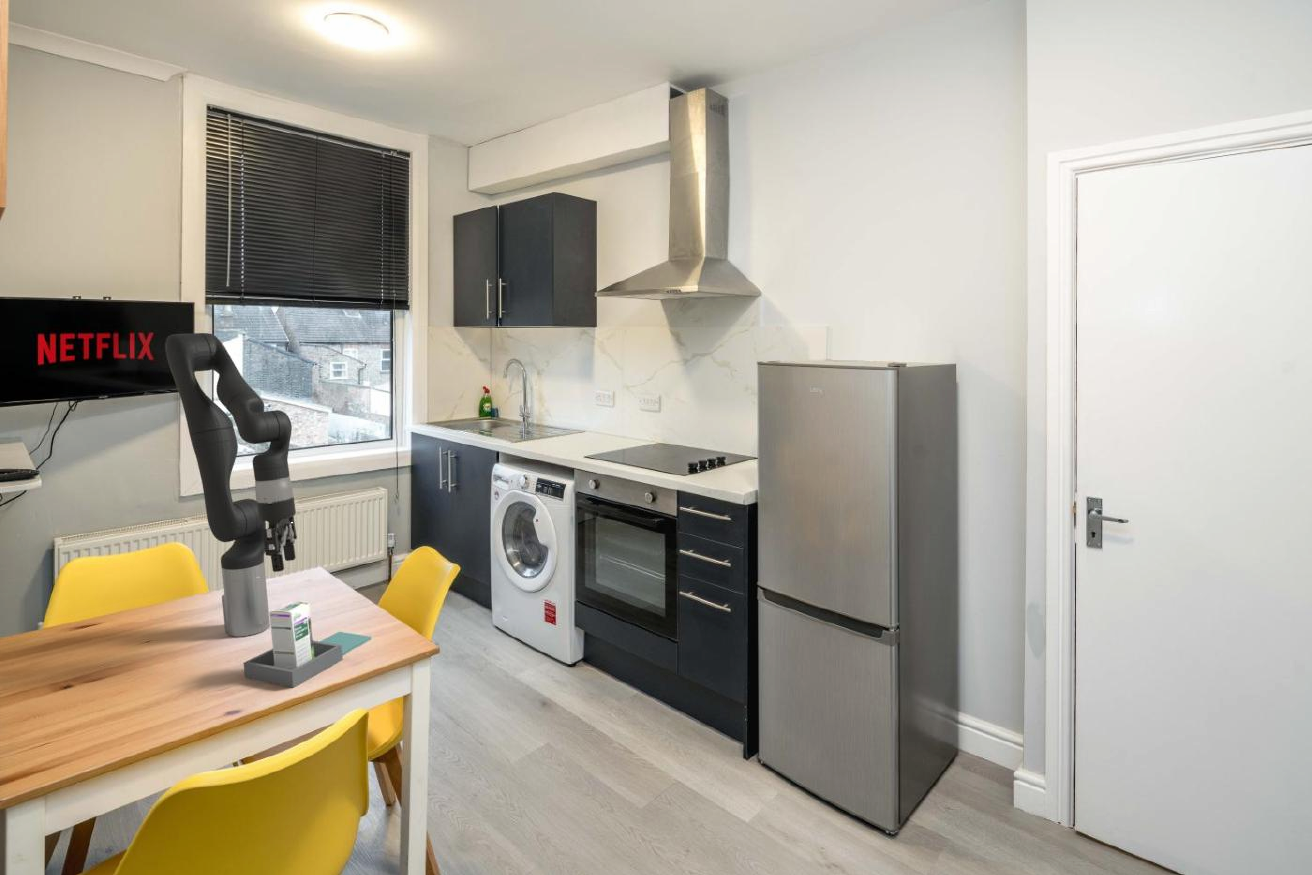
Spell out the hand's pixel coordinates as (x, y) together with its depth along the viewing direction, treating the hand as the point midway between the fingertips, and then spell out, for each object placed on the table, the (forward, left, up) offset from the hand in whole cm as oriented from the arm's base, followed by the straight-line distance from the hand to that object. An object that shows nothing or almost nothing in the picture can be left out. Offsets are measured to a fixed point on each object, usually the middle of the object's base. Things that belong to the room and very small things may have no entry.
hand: (284, 565), depth 160 cm
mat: (+9, +5, -20) cm, 23 cm away
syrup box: (+9, -8, -21) cm, 24 cm away
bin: (+9, -8, -20) cm, 24 cm away
